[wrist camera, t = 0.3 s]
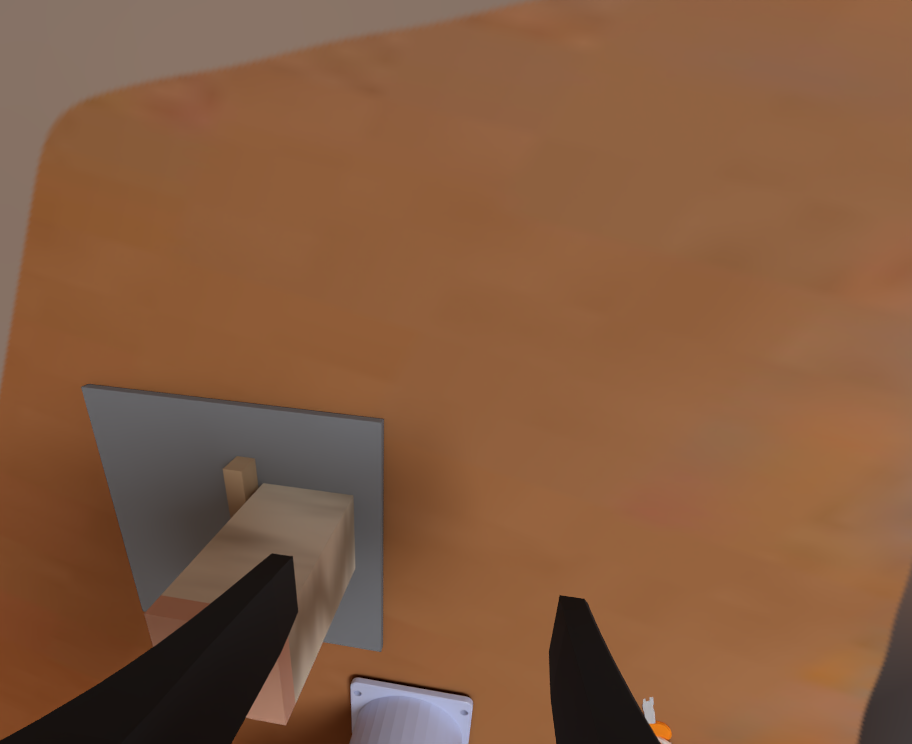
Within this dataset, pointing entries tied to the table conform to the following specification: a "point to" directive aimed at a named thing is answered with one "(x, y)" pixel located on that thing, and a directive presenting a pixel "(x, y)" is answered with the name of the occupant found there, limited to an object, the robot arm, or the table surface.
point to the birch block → (246, 545)
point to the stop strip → (240, 482)
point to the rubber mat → (204, 493)
